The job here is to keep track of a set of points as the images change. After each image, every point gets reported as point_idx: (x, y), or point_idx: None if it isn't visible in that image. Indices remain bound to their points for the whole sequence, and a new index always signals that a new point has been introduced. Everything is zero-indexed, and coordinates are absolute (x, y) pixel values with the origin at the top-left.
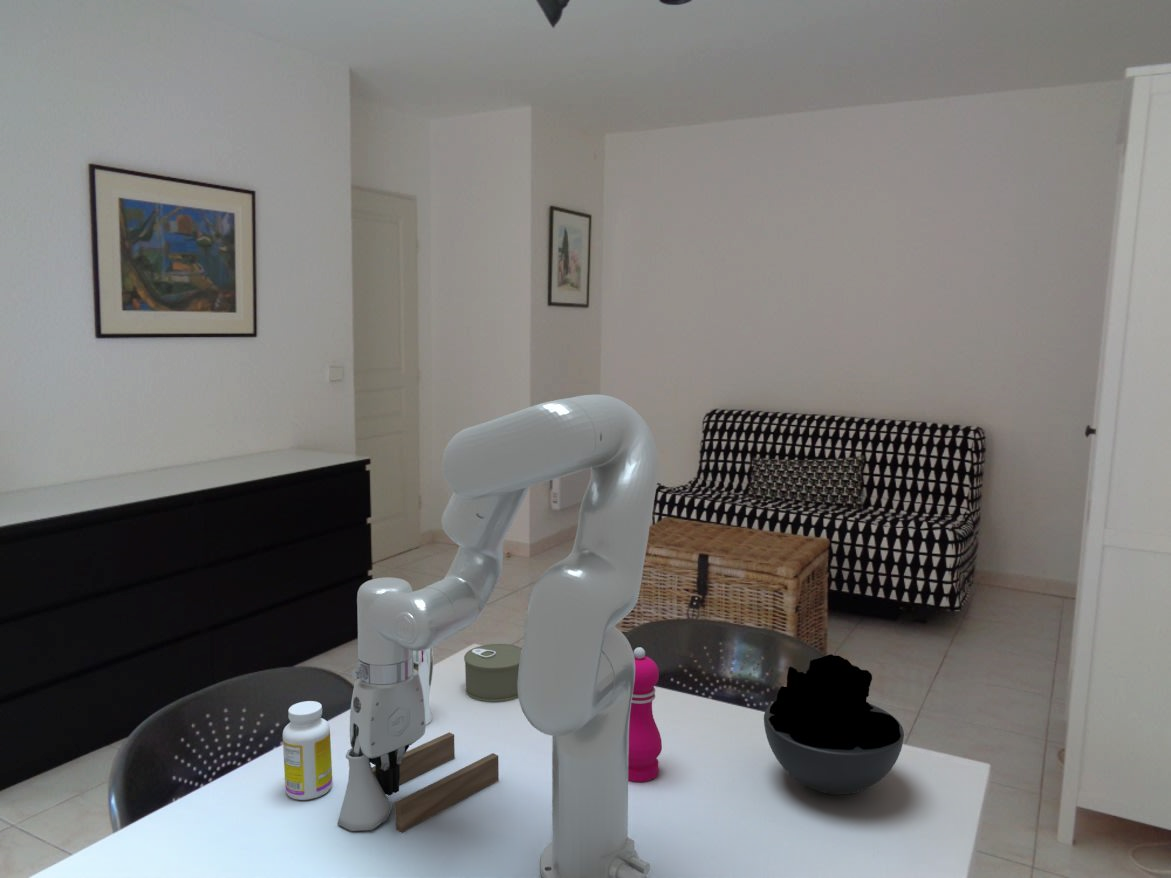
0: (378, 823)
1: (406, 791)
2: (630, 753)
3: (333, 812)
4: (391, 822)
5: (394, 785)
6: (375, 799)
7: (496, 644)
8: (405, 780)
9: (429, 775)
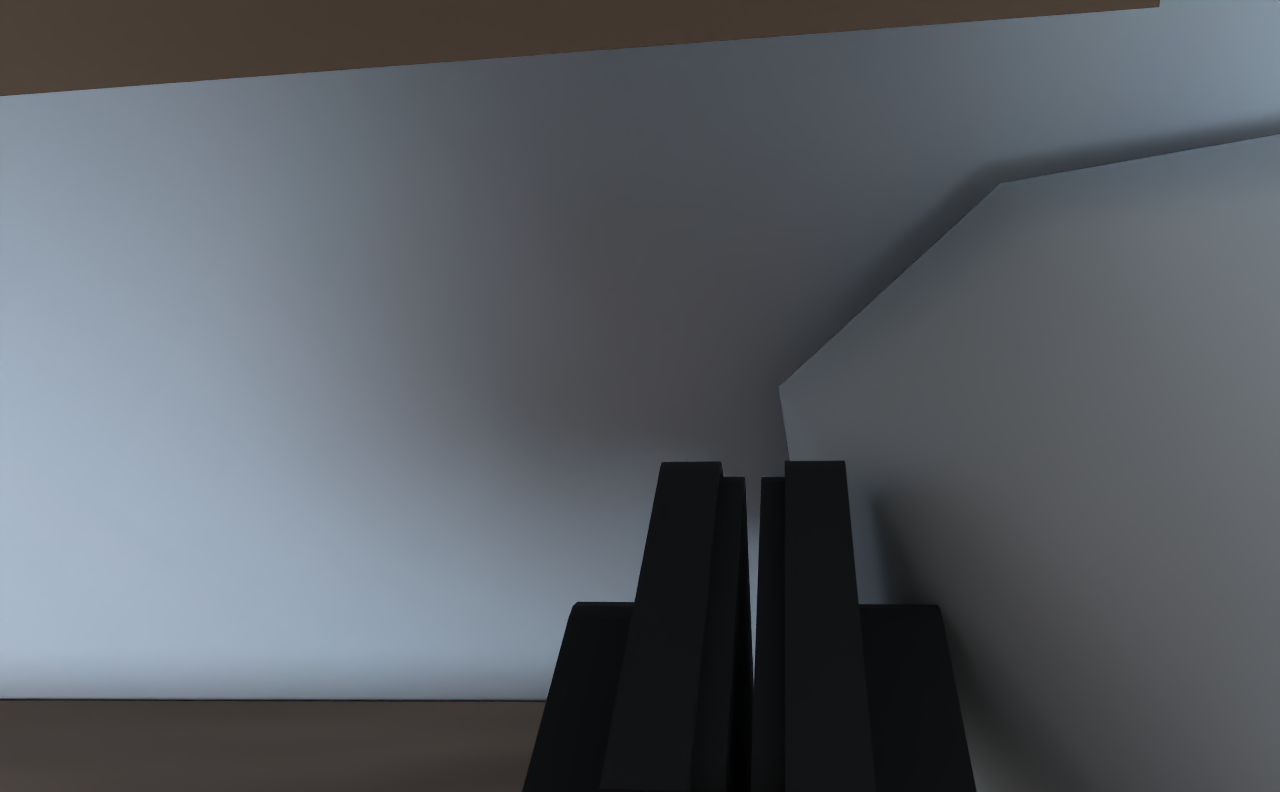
0: (1190, 165)
1: (416, 567)
2: None
3: None
4: (945, 145)
5: (736, 539)
6: (1258, 426)
7: None
8: (334, 715)
9: (65, 636)
